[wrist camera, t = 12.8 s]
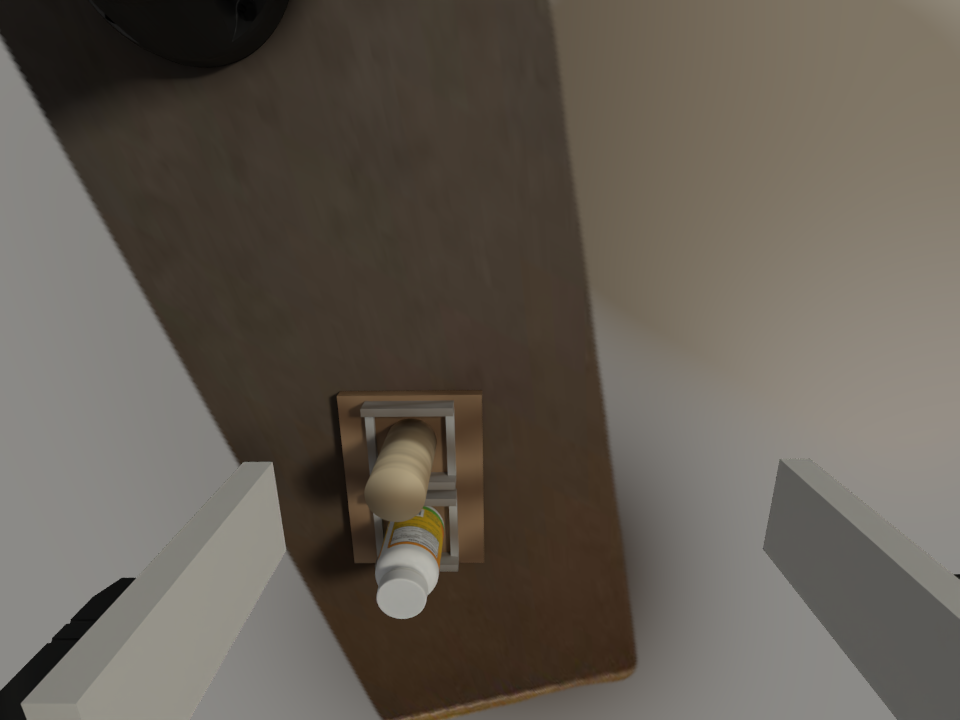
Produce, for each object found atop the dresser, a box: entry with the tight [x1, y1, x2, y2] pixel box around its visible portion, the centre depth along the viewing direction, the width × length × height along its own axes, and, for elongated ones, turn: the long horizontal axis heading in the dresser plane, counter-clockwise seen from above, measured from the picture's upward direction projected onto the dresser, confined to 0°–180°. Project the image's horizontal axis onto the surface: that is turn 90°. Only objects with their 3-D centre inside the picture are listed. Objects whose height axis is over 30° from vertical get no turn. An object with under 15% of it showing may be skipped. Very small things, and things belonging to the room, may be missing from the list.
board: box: [337, 390, 484, 571], centre depth 48 cm, size 18×13×3 cm
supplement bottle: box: [375, 506, 444, 619], centre depth 45 cm, size 5×5×10 cm
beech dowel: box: [364, 418, 437, 522], centre depth 42 cm, size 5×5×9 cm
